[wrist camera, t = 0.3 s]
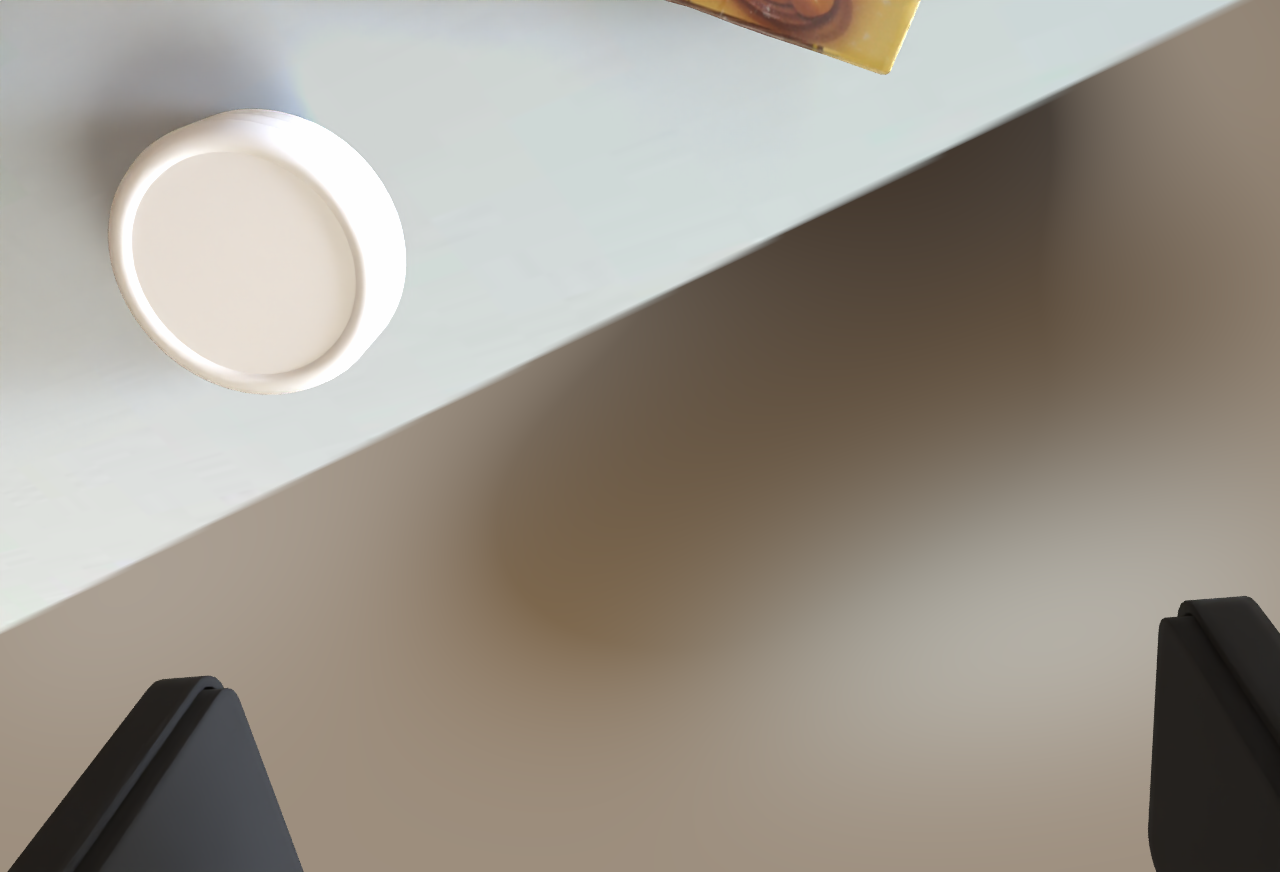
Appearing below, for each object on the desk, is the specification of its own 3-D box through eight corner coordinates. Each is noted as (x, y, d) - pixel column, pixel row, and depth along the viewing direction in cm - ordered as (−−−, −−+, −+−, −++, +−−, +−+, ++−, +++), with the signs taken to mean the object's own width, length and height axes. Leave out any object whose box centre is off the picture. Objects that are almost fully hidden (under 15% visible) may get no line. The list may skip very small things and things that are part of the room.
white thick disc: (329, 62, 39) (293, 75, 35) (454, 315, 42) (431, 347, 39) (98, 166, 41) (45, 187, 38) (236, 397, 45) (197, 434, 41)
